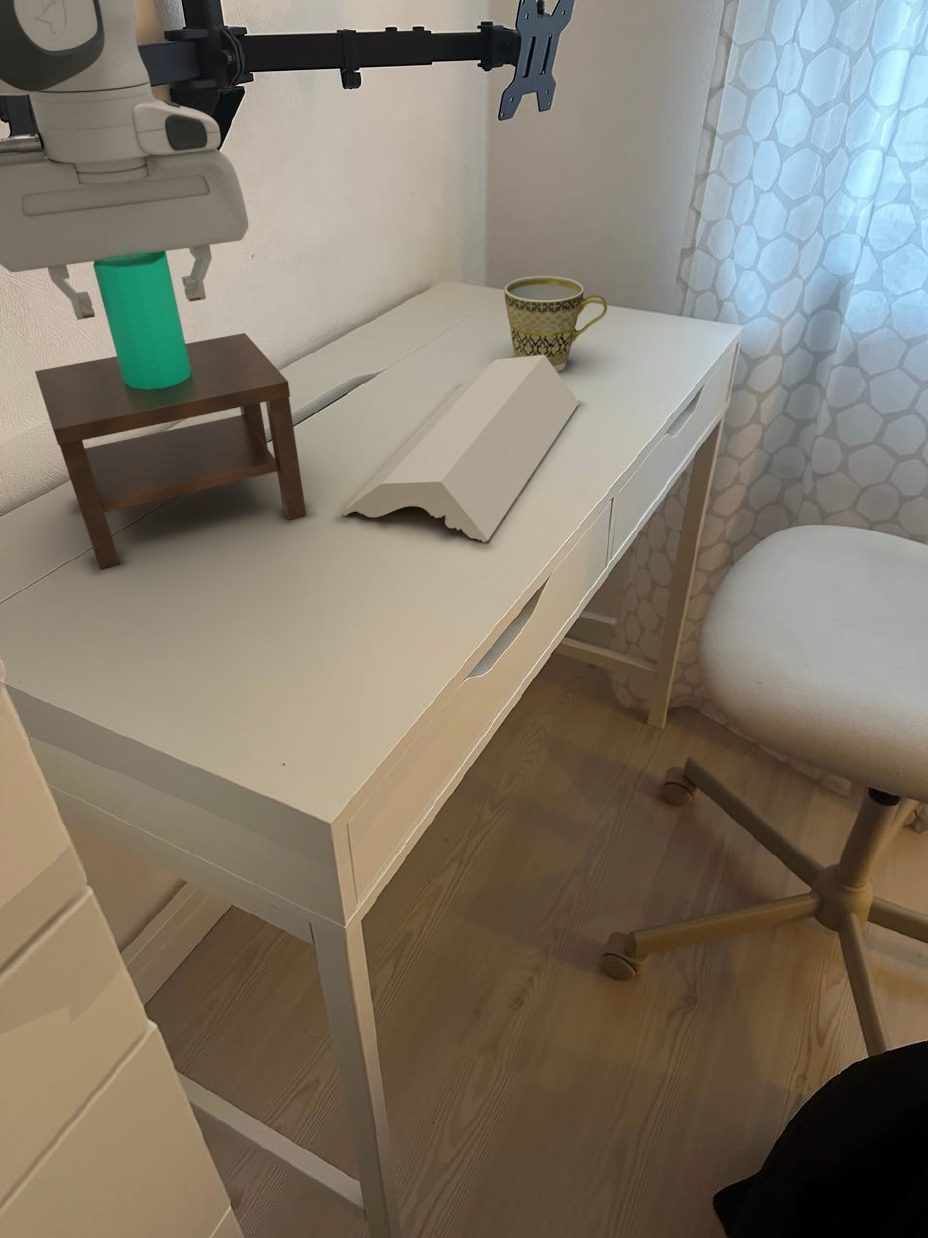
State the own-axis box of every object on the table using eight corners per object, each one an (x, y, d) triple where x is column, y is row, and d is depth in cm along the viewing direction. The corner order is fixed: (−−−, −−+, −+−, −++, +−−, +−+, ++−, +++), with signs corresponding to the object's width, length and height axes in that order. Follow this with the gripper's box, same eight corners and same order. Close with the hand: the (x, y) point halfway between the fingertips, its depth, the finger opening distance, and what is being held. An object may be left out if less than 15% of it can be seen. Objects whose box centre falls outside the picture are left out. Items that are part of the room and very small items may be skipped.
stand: (99, 570, 81) (53, 429, 73) (77, 502, 91) (34, 370, 83) (307, 516, 88) (288, 380, 80) (266, 458, 98) (245, 332, 90)
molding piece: (508, 448, 115) (460, 385, 112) (579, 402, 107) (529, 334, 105) (405, 587, 91) (341, 512, 88) (488, 540, 83) (420, 456, 81)
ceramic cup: (496, 376, 115) (496, 298, 109) (511, 348, 123) (512, 273, 117) (597, 384, 112) (603, 304, 106) (606, 355, 120) (612, 278, 114)
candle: (183, 359, 84) (154, 224, 77) (198, 381, 80) (168, 240, 73) (118, 371, 82) (82, 233, 75) (129, 394, 78) (92, 251, 71)
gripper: (-46, 147, 63) (17, 340, 72) (238, 121, 70) (264, 299, 79) (-49, 134, 68) (10, 316, 76) (217, 111, 75) (245, 280, 83)
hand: (141, 307), depth 78 cm, fingers open, 8 cm apart
